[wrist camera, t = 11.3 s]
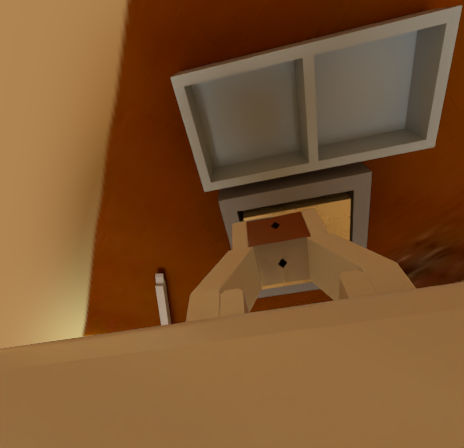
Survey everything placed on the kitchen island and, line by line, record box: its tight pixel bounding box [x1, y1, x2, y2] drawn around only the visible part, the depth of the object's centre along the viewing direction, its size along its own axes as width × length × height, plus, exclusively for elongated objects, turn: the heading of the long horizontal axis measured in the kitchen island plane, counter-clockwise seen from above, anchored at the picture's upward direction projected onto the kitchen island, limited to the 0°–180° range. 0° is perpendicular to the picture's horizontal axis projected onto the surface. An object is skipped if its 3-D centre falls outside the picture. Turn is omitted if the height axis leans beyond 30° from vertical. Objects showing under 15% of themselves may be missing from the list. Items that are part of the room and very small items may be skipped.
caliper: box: [155, 273, 171, 326], centre depth 39 cm, size 20×1×6 cm, turn 1°
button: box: [243, 192, 351, 290], centre depth 30 cm, size 10×10×4 cm
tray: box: [170, 5, 462, 192], centre depth 23 cm, size 20×10×4 cm, turn 102°
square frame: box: [218, 162, 372, 298], centre depth 31 cm, size 14×14×4 cm
